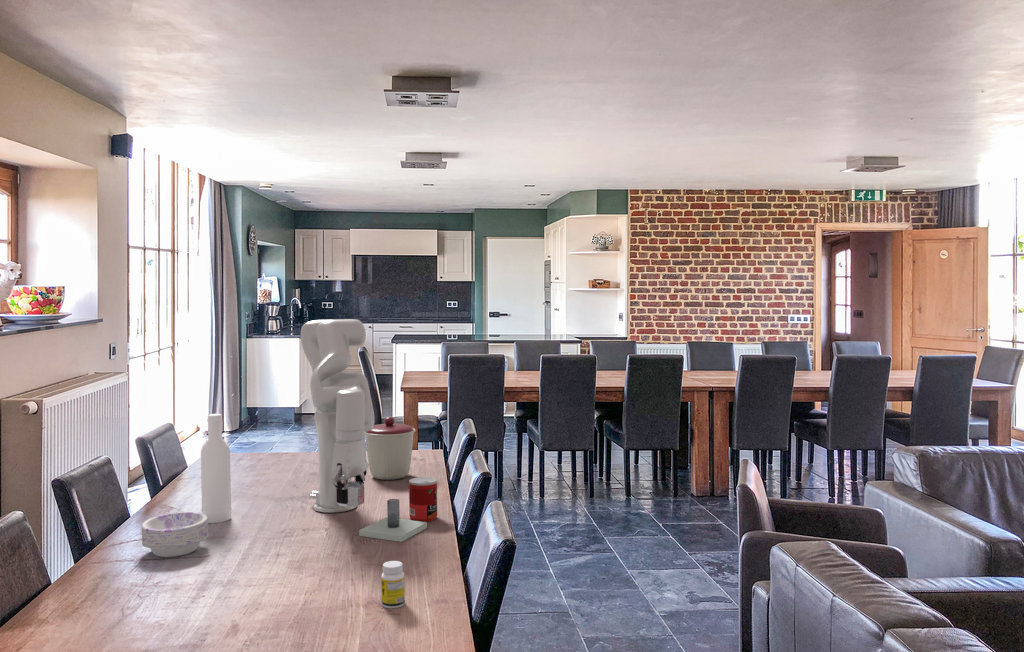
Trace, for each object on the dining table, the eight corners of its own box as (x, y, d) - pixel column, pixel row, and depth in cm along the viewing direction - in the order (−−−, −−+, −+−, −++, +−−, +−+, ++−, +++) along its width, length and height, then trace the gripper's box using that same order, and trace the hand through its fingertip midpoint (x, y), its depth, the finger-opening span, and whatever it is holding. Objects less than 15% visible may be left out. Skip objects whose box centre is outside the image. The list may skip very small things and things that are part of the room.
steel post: (385, 527, 205) (384, 501, 205) (391, 523, 208) (391, 498, 208) (395, 528, 204) (395, 502, 204) (401, 525, 207) (401, 499, 207)
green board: (359, 535, 203) (359, 530, 203) (386, 522, 215) (386, 517, 215) (401, 541, 198) (401, 536, 198) (426, 527, 210) (426, 522, 210)
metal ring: (332, 504, 208) (332, 486, 208) (347, 497, 215) (347, 479, 214) (353, 507, 205) (353, 489, 205) (368, 500, 212) (368, 482, 211)
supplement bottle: (382, 600, 160) (382, 560, 159) (405, 599, 160) (405, 559, 160) (380, 609, 155) (380, 568, 155) (404, 608, 155) (403, 567, 155)
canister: (426, 474, 272) (425, 415, 272) (392, 485, 257) (391, 422, 256) (387, 468, 282) (387, 411, 281) (352, 478, 267) (352, 418, 266)
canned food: (432, 523, 214) (432, 483, 214) (405, 521, 216) (405, 482, 215) (440, 515, 222) (440, 477, 221) (414, 513, 223) (413, 476, 223)
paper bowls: (143, 565, 181) (142, 532, 181) (141, 547, 195) (140, 516, 195) (212, 555, 188) (211, 523, 188) (205, 538, 202) (204, 508, 202)
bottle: (236, 519, 219) (234, 414, 218) (209, 525, 213) (207, 417, 212) (223, 513, 224) (221, 411, 223) (196, 519, 219) (194, 414, 218)
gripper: (357, 427, 218) (357, 489, 219) (319, 440, 202) (319, 506, 203) (379, 430, 215) (379, 492, 216) (342, 443, 199) (343, 510, 200)
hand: (350, 498), depth 210 cm, fingers closed on metal ring, 7 cm apart
